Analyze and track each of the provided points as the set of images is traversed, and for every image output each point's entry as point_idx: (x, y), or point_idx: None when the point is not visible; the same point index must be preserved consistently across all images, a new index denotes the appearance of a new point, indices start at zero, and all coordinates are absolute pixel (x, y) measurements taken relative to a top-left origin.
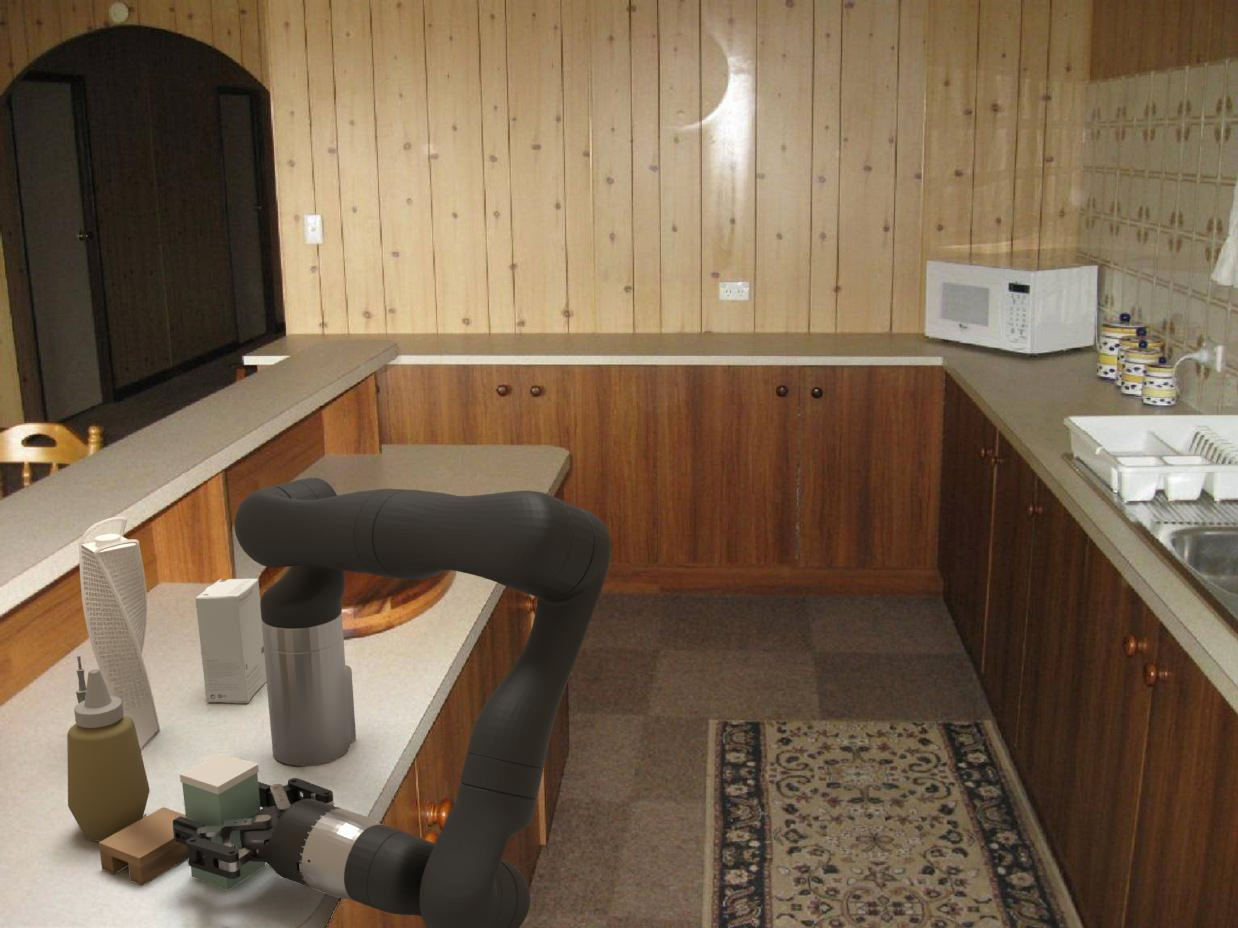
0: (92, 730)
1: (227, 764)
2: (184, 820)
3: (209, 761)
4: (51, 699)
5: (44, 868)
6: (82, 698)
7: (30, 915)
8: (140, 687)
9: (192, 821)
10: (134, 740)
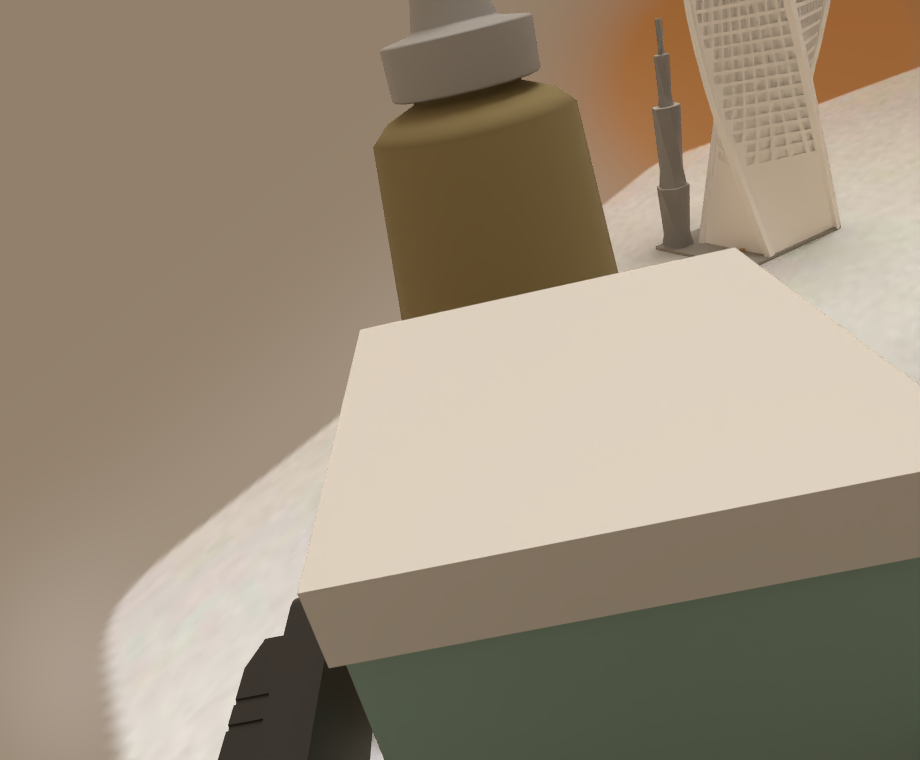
0: (412, 116)
1: (681, 348)
2: (303, 650)
3: (603, 291)
4: (705, 165)
5: (321, 485)
6: (660, 124)
7: (117, 630)
8: (791, 107)
9: (310, 697)
10: (546, 174)
